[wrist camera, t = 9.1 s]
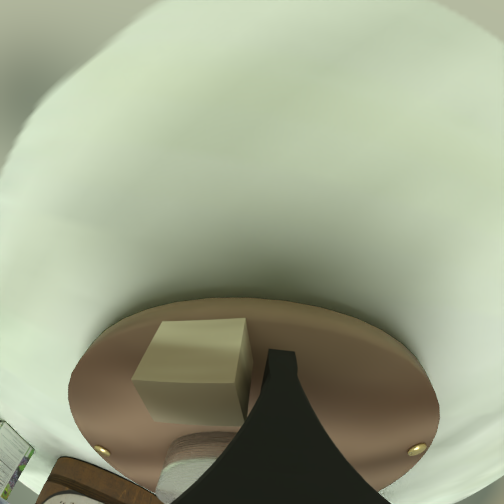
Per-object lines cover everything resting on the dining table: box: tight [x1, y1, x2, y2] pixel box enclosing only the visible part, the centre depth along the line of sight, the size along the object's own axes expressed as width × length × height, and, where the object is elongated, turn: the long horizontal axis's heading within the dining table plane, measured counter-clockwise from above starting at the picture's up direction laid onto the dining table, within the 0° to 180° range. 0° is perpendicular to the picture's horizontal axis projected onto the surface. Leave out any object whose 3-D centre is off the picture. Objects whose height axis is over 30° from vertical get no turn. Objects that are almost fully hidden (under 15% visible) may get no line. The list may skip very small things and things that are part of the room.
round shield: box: [68, 297, 440, 493], centre depth 14 cm, size 22×22×4 cm
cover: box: [155, 431, 237, 504], centre depth 12 cm, size 8×8×4 cm
